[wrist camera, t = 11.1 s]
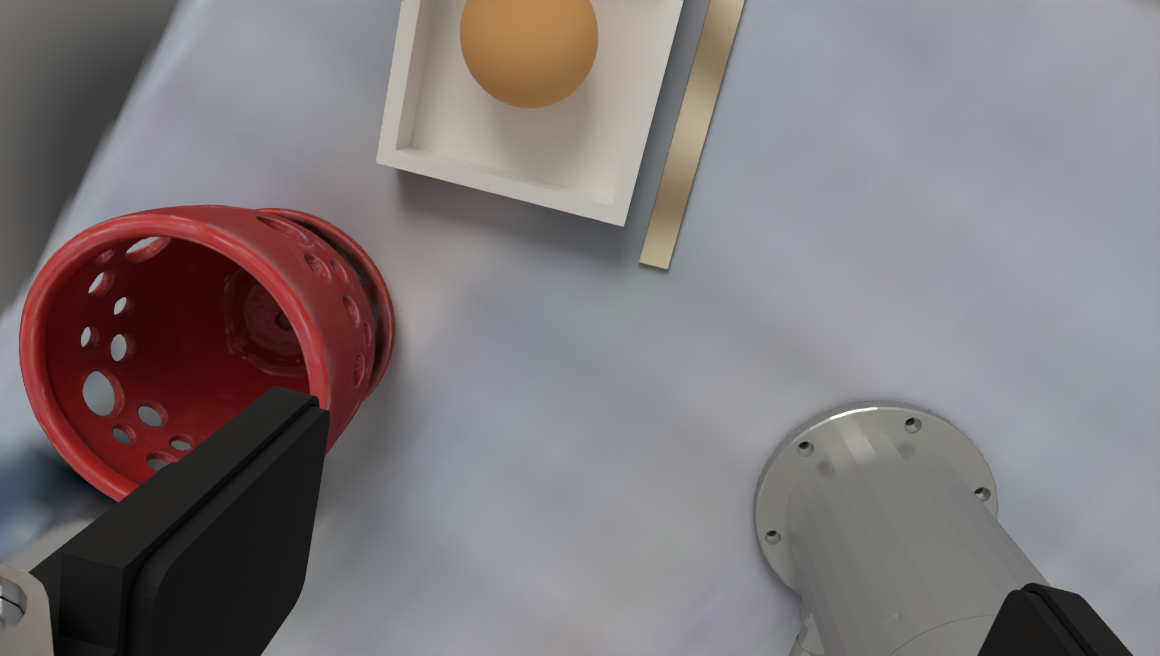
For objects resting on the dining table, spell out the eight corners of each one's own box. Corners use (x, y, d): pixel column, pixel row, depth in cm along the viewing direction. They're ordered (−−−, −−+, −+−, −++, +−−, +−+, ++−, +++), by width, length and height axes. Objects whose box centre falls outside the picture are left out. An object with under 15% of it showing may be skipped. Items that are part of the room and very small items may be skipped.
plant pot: (465, 321, 42) (396, 408, 30) (299, 458, 45) (180, 583, 33) (293, 127, 39) (149, 142, 28) (131, 286, 43) (-57, 357, 31)
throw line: (667, 268, 40) (667, 269, 40) (639, 260, 40) (639, 262, 40) (791, -167, 34) (793, -170, 34) (758, -176, 34) (759, -178, 34)
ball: (586, 122, 38) (571, 124, 32) (466, 91, 38) (430, 88, 32) (617, -10, 36) (608, -32, 30) (492, -41, 36) (458, -69, 30)
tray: (625, 217, 39) (623, 226, 36) (395, 157, 39) (376, 162, 37) (704, -84, 35) (709, -99, 32) (446, -149, 35) (429, -171, 32)
